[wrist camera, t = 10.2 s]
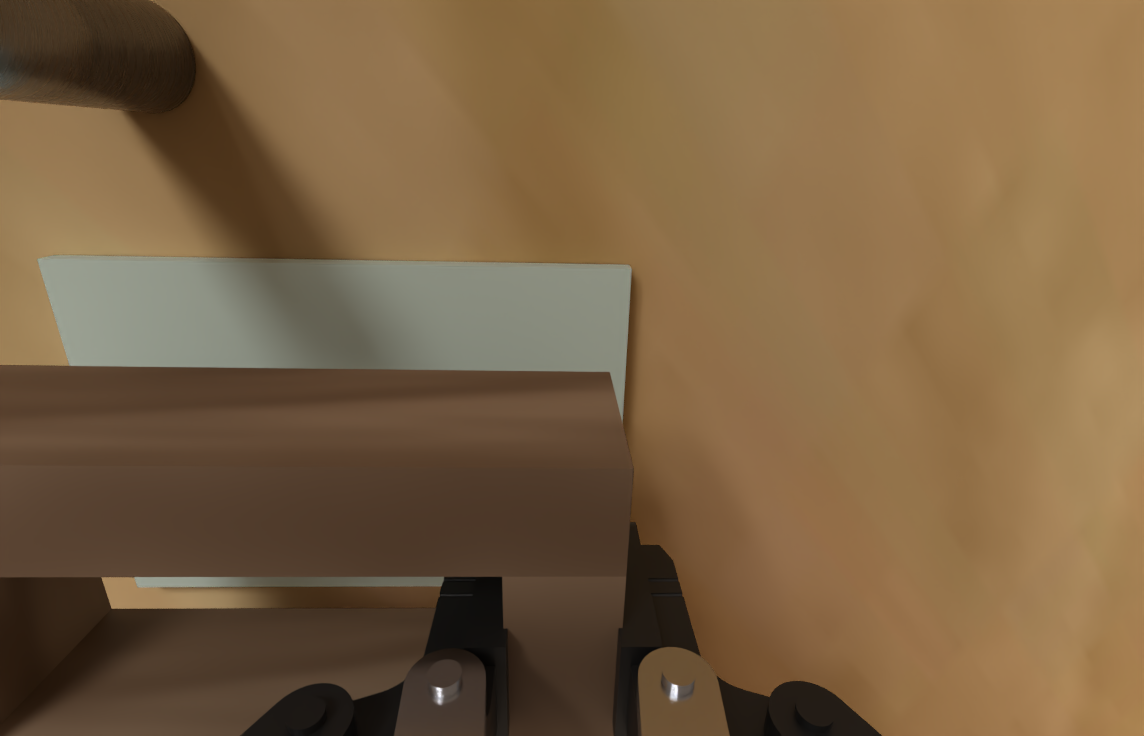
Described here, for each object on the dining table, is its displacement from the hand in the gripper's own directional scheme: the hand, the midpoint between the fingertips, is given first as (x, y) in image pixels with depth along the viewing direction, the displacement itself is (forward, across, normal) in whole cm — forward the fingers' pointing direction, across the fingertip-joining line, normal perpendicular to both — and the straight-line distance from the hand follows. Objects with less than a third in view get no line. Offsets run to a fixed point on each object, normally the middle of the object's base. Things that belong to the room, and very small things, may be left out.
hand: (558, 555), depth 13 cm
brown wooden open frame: (+1, +6, 0) cm, 6 cm away
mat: (+6, +6, 0) cm, 8 cm away
